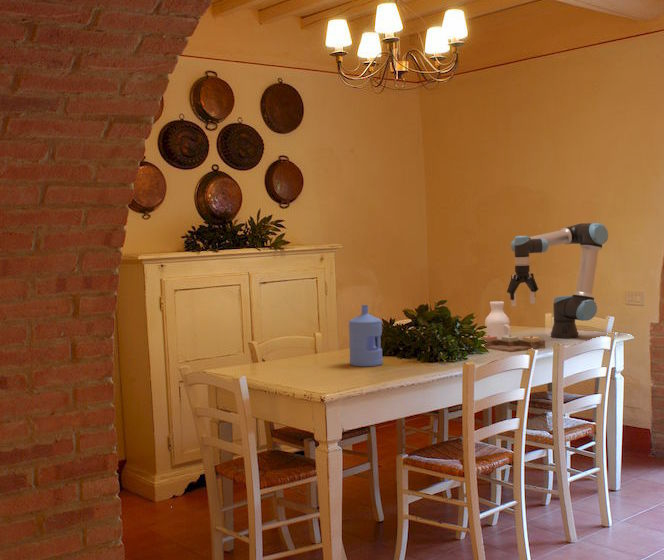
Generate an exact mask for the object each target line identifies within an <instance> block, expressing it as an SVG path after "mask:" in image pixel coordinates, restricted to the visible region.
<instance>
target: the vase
mask: <svg viewBox="0 0 664 560" xmlns="http://www.w3.org/2000/svg"><path fill="white" fill-rule="evenodd" d="M489 305H490V309H491V310H490V312H489V314H488V315H487V316H486V317H485V319H484V327H485V326H487V328H485V331H486V336H491V322H492V321H506V325H508V326H509V327H510V325H511V324H510V323H511V322H510V321H511V320H510V317H508V316H507V314H506V313H505V312H504V305H505V302H504V301H500V300H499V301H489ZM508 333H509V330H508V328H506V335H508Z"/></svg>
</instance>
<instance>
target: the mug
mask: <svg viewBox="0 0 664 560" xmlns="http://www.w3.org/2000/svg"><path fill="white" fill-rule="evenodd" d="M506 328H508V330H509V331H508V335H506ZM511 329H512V328H511V327H510V326H508V325H506V321H492V322H491V336H496V337H497V339H498V340H502V337H505V336H512V330H511Z"/></svg>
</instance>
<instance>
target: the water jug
mask: <svg viewBox="0 0 664 560" xmlns="http://www.w3.org/2000/svg"><path fill="white" fill-rule="evenodd" d="M382 324H383V322H382V319H380V318H378V317H376V316H374V315H372V314H370V313H369V305H368V304H363V305H361V313H360V314H359V315H357V316H356V317H354V318H352V319H350V320H349V321H348V330H349V331H348V332H349V333H348V335H349V339H348V340H349V343H348V345H349V364H350V366H354V367H360V368H361V367H362V368H364V367H366V368H368V367H370V368H371V367H377V366H381V365H383V361H384V358H383V348H382V345H381V343H382V341H381V336H382V334H383V333H382V330H383V325H382Z"/></svg>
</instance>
